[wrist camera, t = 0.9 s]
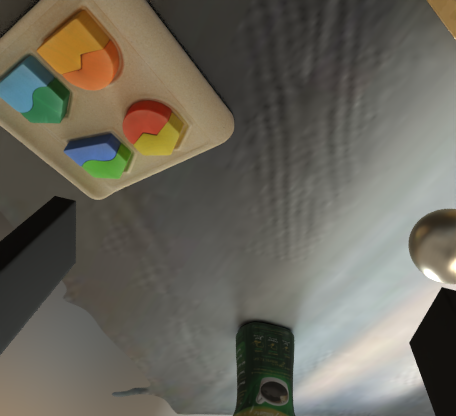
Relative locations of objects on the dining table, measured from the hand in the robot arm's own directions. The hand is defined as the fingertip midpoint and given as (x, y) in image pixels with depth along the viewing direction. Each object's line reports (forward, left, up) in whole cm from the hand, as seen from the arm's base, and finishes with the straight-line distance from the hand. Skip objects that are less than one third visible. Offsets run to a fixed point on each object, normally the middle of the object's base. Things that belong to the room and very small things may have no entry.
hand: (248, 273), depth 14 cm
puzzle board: (+2, -16, -23) cm, 28 cm away
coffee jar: (+50, -15, -23) cm, 57 cm away
